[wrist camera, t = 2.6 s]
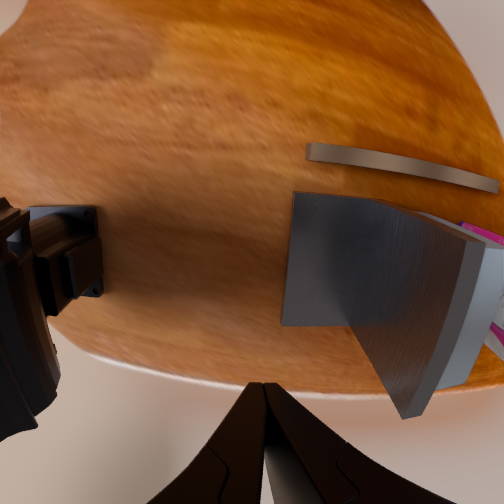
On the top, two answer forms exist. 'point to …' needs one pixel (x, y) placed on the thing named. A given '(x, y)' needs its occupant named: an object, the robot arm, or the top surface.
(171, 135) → the top surface
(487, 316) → the book
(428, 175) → the rail
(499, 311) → the supplement box
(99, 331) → the top surface
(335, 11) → the top surface
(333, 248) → the bookend
